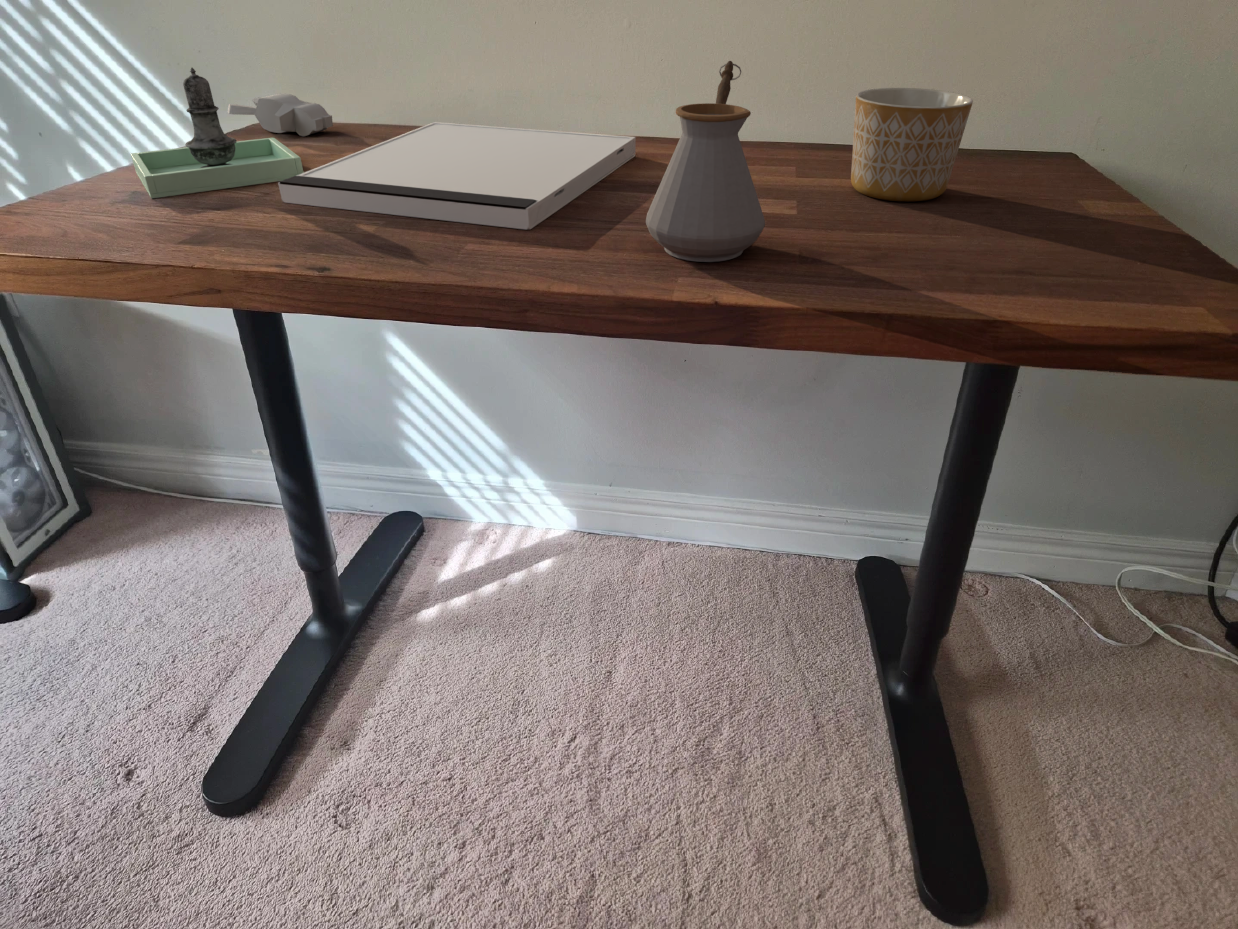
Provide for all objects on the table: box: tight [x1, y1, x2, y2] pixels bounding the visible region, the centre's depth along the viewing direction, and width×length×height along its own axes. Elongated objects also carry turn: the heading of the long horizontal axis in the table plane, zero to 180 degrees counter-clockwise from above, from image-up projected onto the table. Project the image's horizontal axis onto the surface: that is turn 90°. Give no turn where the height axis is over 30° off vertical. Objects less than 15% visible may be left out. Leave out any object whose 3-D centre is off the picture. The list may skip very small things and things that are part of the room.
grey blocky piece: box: [227, 92, 334, 137], centre depth 127 cm, size 10×5×15 cm
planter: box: [850, 87, 974, 203], centre depth 97 cm, size 13×13×10 cm
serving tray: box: [130, 137, 305, 199], centre depth 105 cm, size 18×14×2 cm
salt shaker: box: [182, 67, 238, 168], centre depth 102 cm, size 6×6×12 cm
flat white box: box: [277, 121, 637, 231], centre depth 104 cm, size 35×2×31 cm
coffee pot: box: [645, 60, 766, 263], centre depth 82 cm, size 21×12×15 cm, turn 167°
